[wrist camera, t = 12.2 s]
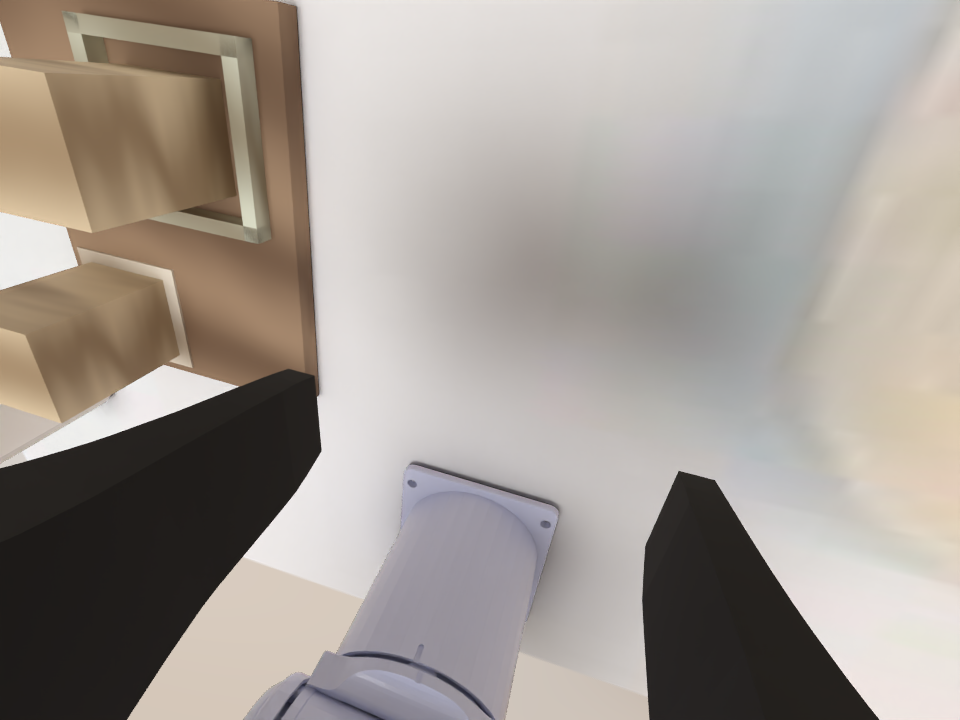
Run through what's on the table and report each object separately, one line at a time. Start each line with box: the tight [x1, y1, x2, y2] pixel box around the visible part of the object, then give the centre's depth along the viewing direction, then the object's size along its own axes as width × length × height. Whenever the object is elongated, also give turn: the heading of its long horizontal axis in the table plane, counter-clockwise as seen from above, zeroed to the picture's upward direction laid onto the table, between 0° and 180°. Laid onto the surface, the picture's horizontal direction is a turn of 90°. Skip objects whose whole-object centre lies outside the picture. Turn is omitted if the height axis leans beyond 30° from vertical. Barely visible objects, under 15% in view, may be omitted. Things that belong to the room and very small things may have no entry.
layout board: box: [0, 0, 319, 423], centre depth 18 cm, size 16×12×7 cm
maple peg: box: [0, 57, 236, 233], centre depth 16 cm, size 4×4×6 cm
